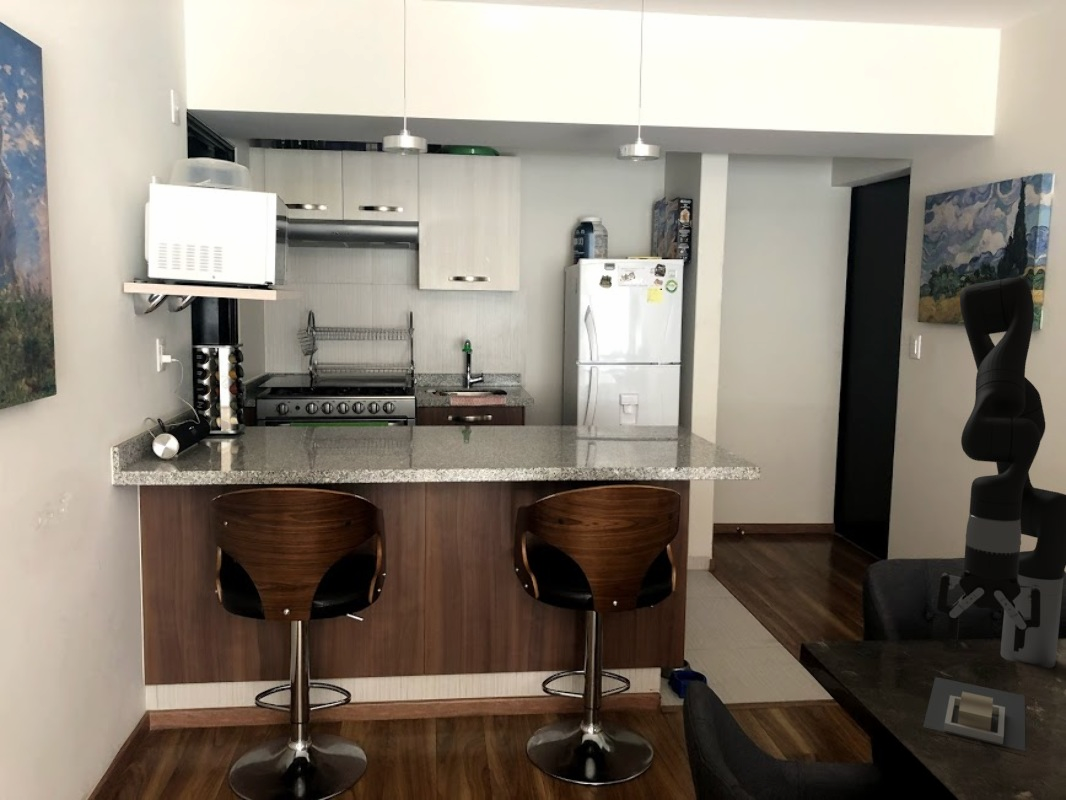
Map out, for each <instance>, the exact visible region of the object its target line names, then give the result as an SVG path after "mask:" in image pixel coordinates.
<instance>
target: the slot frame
mask: <svg viewBox="0 0 1066 800" xmlns="http://www.w3.org/2000/svg"><path fill="white" fill-rule="evenodd" d="M960 702H961V697H956V696H951V695H950V698H949V703H948V708H947V713H946V718H945V724H944V731H949V732H953V733H957V734H961V735H966V736H970V737H974V738H978V739H983V740H987V741H991V742H995V743H999V744H1003V738H1004V717H1005V707H1002V706H997V705H993V706H992V714H997V715H999V718H998V733H995V732H990V731H986V730H982V729H977V728H973V727H969V726H964V725H960V724H956V723H952V722H951V721H952V716H953V710H954V705H956V706H960Z"/></svg>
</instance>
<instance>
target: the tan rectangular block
mask: <svg viewBox="0 0 1066 800" xmlns="http://www.w3.org/2000/svg"><path fill="white" fill-rule="evenodd" d="M992 706H993V698H990V697H986V696H981V695H976V694H972V693H967V692H962V696H961V702H960V708H959V717H958V724H960V725H964V726H969V727H973V728H977V729H982V730H986V731H990V729H991V718H992Z"/></svg>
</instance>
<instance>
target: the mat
mask: <svg viewBox="0 0 1066 800" xmlns="http://www.w3.org/2000/svg"><path fill="white" fill-rule="evenodd" d="M962 692H967V693H972V694H976V695H981V696H986V697H990V698H993V705H997V706H1002V707H1005V717H1004V738H1003V744H999V743H995V742H991V741H987V740H983V739H978V738H974V737H970V736H966V735H961V734H957V733H953V732H949V731H944V724H945V718H946V713H947V708H948V703H949V698H950V695H951V696H956V697H961V696H962ZM929 697H930V698H929V701H928V705H927V708H926V709H927V710H926V713H925V717H924V722H923V726H922V727H923V728H925V729H930V730H932V731H933V730H934V731H939V732H942V733H947V734H950V735H955V736H959V737H963V738H967V739H972V740H977V741H981V742H984V743H990V744H993V745H997V746H1002V747H1006V748H1010V749H1014V750H1017V751H1024V752H1026V695H1023V694H1018V693H1013V692H1010V691H1009V692H1008V691H1004V690H1000V689H995V688H990V687H983V686H980V685H976V684H970V683H965V682H962V681H961V682H960V681H956V680H952V679H948V678H947V679H946V678H942V677H937V676H935V677H934V682H933V684H932V689H931V692H930V696H929ZM959 708H960V706H956V705H954V710H953V716H952V721H951V722H952V723H956V724H958V717H959ZM998 718H999V715H997V714H992V718H991V729H990V732H995V733H998ZM922 732H923V733H926V734H929V735H930V734H932V735H934V736H940V737H944V738H948V739H952V740H956V741H960V742H964V743H968V744H973V745H977V746H980V747H984V748H985V747H986V748H990V749H993V750H998V751H1002V752H1006V753H1010V754H1014V755H1019V756H1023V757H1025V755H1023V754H1020V753H1015V752H1010V751H1006V750H1003V749H999V748H995V747H990V746H988V745H987V746H986V745H981V744H977V743H974V742H969V741H965V740H961V739H957V738H953V737H948V736H944V735H940V734H936V733H932V732H929V731H922Z"/></svg>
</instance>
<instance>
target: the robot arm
mask: <svg viewBox="0 0 1066 800" xmlns="http://www.w3.org/2000/svg"><path fill="white" fill-rule="evenodd" d="M959 306H960V312H961V317H962V320H963V325H964V328H965V333H966V335H967V339H968V342H969V346H970V348H971V353H972V355H973V359H974V362H975V366H976V369H977V372H976V378H975V400H974V406H973V409H972V411H971V413H970V415H969V417H968V419H967V421H966V423H965V425H964V428H963V430H962V434H961V441H960V442H961V443H960V444H961V448H962V450H963V452H964V453H965V455H966V456H967V457H968V458H969V459H971V460H973V461H977V462H985V463H986V462H989V463H995V464H996V469H997V474H994V475H993V474H992V475H982V476H979V477H976V478H975V479H974V480H973V481H972V483H971V487H970V488H971V489H970V499H969V500H970V501H969V514H968V519H967V524H966V530H965V531H966V532H965V545H964V559H963V560H964V561H963V572H962V575H961V576H957V575H952V574H950V573H949V572H948V571H944V572H942V574H941V578H940V583H939V591H938V598H937V607H936V609H937V611H938V612H941V613H944V614H946V615H947V616H948V628H947V629H948V630H947V633H948V636H949V637H952V641H955V642H956V641H957V642H958V639H959V626H960V624H959V623H960V615H961V614H962V613H963V612H964V611H966V610H967V609H968V608H969V607H971V606H972V605H974V606H976V608H981V609H987V608H988V609H990V610H993V611H1000V610H1003V623H1002V632H1001V633H1002V634H1001V641H1000V642H1001V643H1000V656H1001V658H1003V659H1004V660H1006V661H1011V662H1012V661H1013V662H1018V663H1022V664H1026V665H1027V664H1029V665H1033V666H1038V667H1043V668H1049V669H1052V668H1054V667H1055V666H1056V660H1057V652H1058V651H1057V650H1058V640H1059V630H1060V629H1059V628H1060V618H1061V606H1062V599H1063V598H1062V597H1063V596H1062V595H1063V587H1064V576H1065V570H1066V494H1065V493H1062V492H1057V491H1052V490H1047V489H1042V488H1037V487H1034V486H1033V485H1032V483H1031V478H1030V469H1031V467H1032V464H1033V462H1034V460H1035V458H1036V457H1037V456H1036V455H1037V454H1038V451H1039V447H1040V445H1041V441H1042V439H1043V438H1044V437H1043V436H1044V435H1045V431H1046V418H1045V414H1044V409H1043V403H1042V398H1041V395H1040V393H1039V391H1038V389H1037V388H1036V387H1035V385H1034V384H1033V383H1032V382H1031V381H1030V380H1029V379H1028V378H1027V377H1026V365H1027V359H1028V358H1027V357H1028V354H1029V349H1030V343H1031V338H1032V337H1031V336H1032V331H1033V325H1034V320H1035V319H1034V318H1035V307H1034V306H1035V305H1034V298H1033V294H1032V290H1031V287H1030V285H1029V283H1028V281H1027V280H1026V279H1025V278H1022V277H1019V276H1018V277H1008V278H1002V279H995V280H991V281H985V282H980V283H974V284H970V285H967V286H964V287H963V289H962V290H961V292H960V294H959ZM999 333H1004V335H1003V336H1002V338H1001V339H1000V340H999V341H998V342H997V343H996V345H995V343H994V341H993V340H992V338H991V336H990V335H992V334H999ZM1022 535H1024V536H1028V537H1032V538H1036V539H1037V541H1036V544H1035V548H1034V549H1033V550H1027V551H1026V550H1025V551H1021V546H1022ZM956 585H959V586H960V588H961V589H962V591H963V592H964V594H962V596H960V598H959V599H958V600H957V601H956V602H955V603H954V604H953V605H951V604H950V603H947V602H948V597H949V595H948V594H949V590H953V589H954V588H955V586H956Z"/></svg>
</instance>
